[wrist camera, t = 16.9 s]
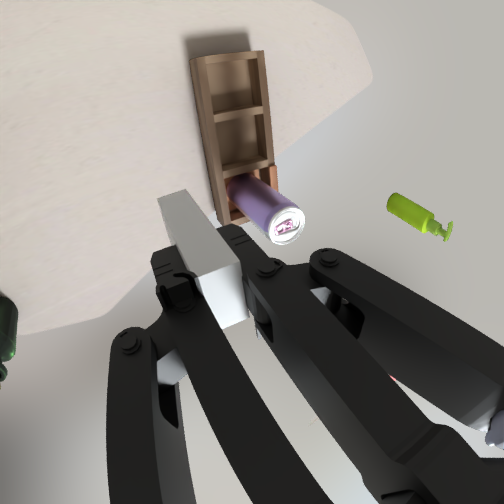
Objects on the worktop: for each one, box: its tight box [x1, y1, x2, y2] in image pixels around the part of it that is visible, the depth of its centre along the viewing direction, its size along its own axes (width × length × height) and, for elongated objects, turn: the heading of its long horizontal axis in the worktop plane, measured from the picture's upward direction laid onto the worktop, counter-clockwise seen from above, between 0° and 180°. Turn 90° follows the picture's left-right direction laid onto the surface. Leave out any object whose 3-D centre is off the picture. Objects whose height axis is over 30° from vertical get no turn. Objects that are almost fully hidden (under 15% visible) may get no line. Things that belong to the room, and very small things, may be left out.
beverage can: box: [227, 173, 305, 245], centre depth 43 cm, size 6×6×15 cm
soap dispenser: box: [387, 193, 453, 242], centre depth 64 cm, size 6×7×20 cm
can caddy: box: [189, 50, 278, 226], centre depth 42 cm, size 10×28×4 cm, turn 7°
